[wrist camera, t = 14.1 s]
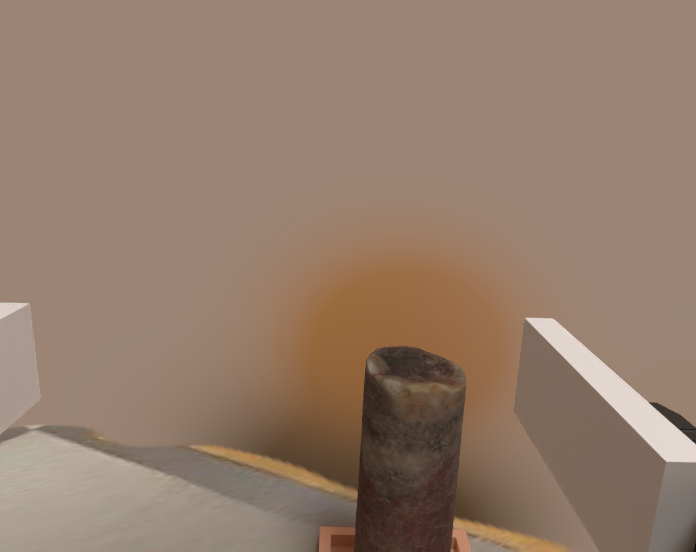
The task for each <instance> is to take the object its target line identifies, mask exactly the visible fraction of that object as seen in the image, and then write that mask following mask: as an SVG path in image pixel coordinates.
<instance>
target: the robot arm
mask: <svg viewBox="0 0 696 552" xmlns="http://www.w3.org/2000/svg"><path fill="white" fill-rule="evenodd" d="M40 399H41V396H40V387H39V378H38V370H37V361H36V354H35V345H34V336H33V328H32V319H31V311H30V304H29V303H0V434H1V433H2V432H4V431H5V430H6V429H7V428H8V427H9V426H10V425H12V423H14V422H15V421H16V420H17V419H18V418H19V417H20V416H22V415H23V414H24V413H25V412H26V411H27V410H29V409H30V408H31V407H32V406H33V405H34V404H35V403H37V402H38V401H39V400H40ZM514 413H515V414H516V416H517V417H518V419H519V421H520V423H521V424H522V426H523V427H524V429H525V431H526V432H527V434H528V436H529V437H530V439H531V441H532V442H533V444H534V445H535V447H536V449H537V450H538V452H539V454H540V455H541V457H542V458H543V460H544V462H545V463H546V465H547V467H548V468H549V470H550V472H551V473H552V475H553V476H554V478H555V480H556V481H557V483H558V485H559V486H560V488H561V490H562V491H563V493H564V494H565V496H566V498H567V499H568V501H569V502H570V504H571V506H572V507H573V509H574V510H575V512H576V514H577V516H578V517H579V519H580V521H581V522H582V524H583V525H584V527H585V529H586V530H587V532H588V534H589V535H590V537H591V539H592V540H593V542H594V543H595V545H596V547H597V548H598V550H599V552H696V428H695V427H694V426H693V425H692V424H691V423H689V422H688V421H687V420H686V419H685V418H683V417H682V416H681V415H679V414H678V413H675V412H673V411H671V410H670V409H668V408H666V407H664V406H662V405H660V404H658V403H650V402H647V401H646V400H645V399H644V398H643V397H641V396H640V395H639V394H638V393H637V392H636V391H635V390H633V389H632V388H631V387H630V386H629V385H628V384H627V383H626V382H624V381H623V380H622V379H621V378H620V377H619V376H618V375H617V374H615V373H614V372H613V371H612V370H611V369H610V368H609V367H607V366H606V365H605V364H604V363H603V362H602V361H601V360H599V359H598V358H597V357H596V356H595V355H594V354H593V353H592V352H590V351H589V350H588V349H587V348H586V347H585V346H584V345H583V344H581V343H580V342H579V341H578V340H577V339H576V338H575V337H573V336H572V335H571V334H570V333H569V332H568V331H567V330H565V329H564V328H563V327H562V326H561V325H560V324H559V323H558V322H556V321H555V320H554V319H548V318H546V319H545V318H525V320H524V329H523V337H522V345H521V353H520V362H519V370H518V379H517V388H516V396H515V404H514Z"/></svg>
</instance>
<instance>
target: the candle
mask: <svg viewBox="0 0 696 552" xmlns="http://www.w3.org/2000/svg"><path fill="white" fill-rule="evenodd" d="M465 391H466V377H465V373H464V371H463V370H462V368H461V367H460V366H459V365H458V364H455V363H454V362H452V361H449V360H446V359H445V358H443V357H441V356H438V355H435V354H431V353H429V352H426V351H423V350H421V349H419V348H415V347H408V346H399V347H383V348H377V349H376V350H375V351H374V352H373V353H371V354H370V355H369V357H368V358H367V360H366V369H365V383H364V395H363V416H362V438H361V451H360V469H359V484H358V498H357V512H356V527H355V539H354V552H451V545H452V533H453V520H454V507H455V497H456V487H457V475H458V468H459V454H460V443H461V434H462V423H463V413H464V403H465Z"/></svg>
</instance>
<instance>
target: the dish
mask: <svg viewBox="0 0 696 552" xmlns="http://www.w3.org/2000/svg"><path fill="white" fill-rule="evenodd" d="M354 539H355V527H326V526H320V537H319V552H354ZM451 552H472V551H471V548H470V545H469V541H468V538H467V535H466V532H465V530H458V529H453V533H452V545H451Z"/></svg>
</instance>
